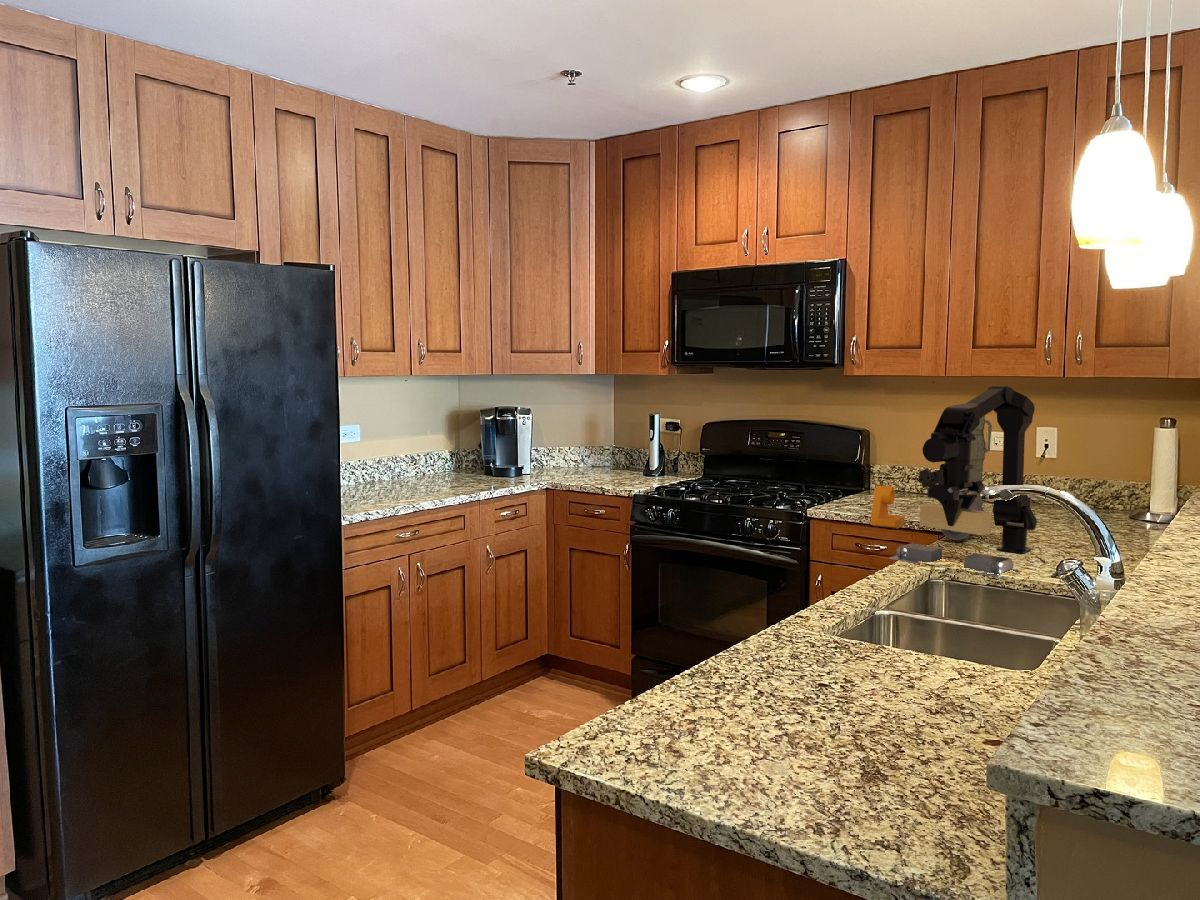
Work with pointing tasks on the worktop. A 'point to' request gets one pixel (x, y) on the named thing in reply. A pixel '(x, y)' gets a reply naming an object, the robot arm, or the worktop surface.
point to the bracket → (884, 508)
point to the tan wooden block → (964, 522)
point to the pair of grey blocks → (971, 561)
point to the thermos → (979, 454)
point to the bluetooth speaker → (961, 535)
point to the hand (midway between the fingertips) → (954, 524)
